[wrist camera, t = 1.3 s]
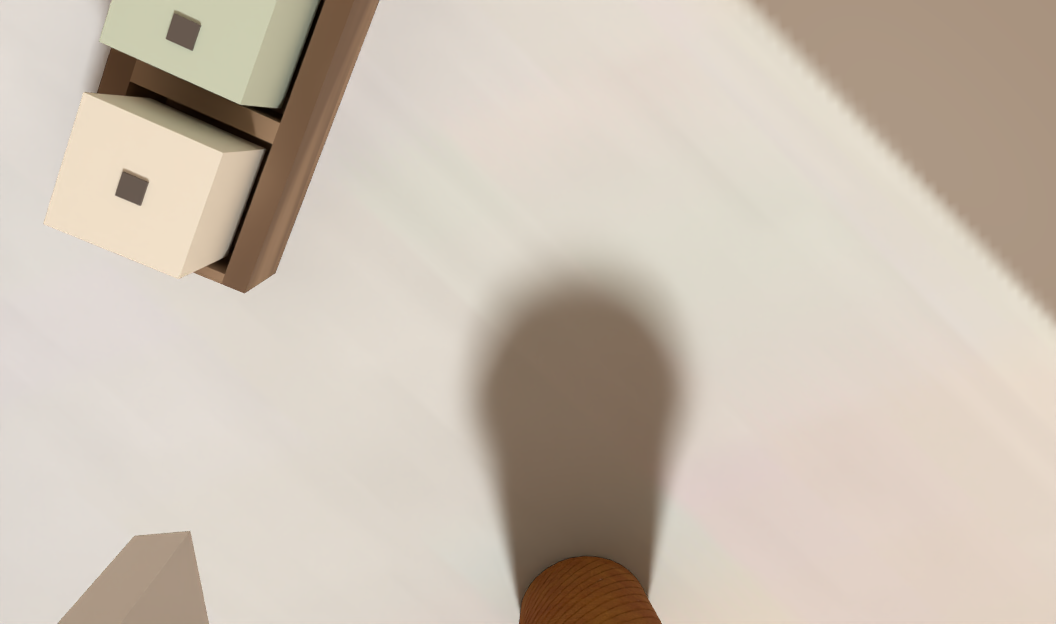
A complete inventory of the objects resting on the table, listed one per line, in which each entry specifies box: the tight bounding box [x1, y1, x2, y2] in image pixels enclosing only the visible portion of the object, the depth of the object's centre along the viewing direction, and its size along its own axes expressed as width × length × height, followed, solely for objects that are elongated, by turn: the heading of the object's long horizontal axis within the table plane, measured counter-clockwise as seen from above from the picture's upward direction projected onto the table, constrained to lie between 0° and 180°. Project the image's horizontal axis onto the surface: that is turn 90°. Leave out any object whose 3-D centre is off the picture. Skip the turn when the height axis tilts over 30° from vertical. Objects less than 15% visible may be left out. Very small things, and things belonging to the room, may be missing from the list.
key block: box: [97, 0, 379, 293], centre depth 27 cm, size 7×18×4 cm, turn 156°
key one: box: [43, 92, 266, 279], centre depth 25 cm, size 4×4×5 cm
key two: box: [99, 0, 321, 109], centre depth 24 cm, size 4×4×5 cm
